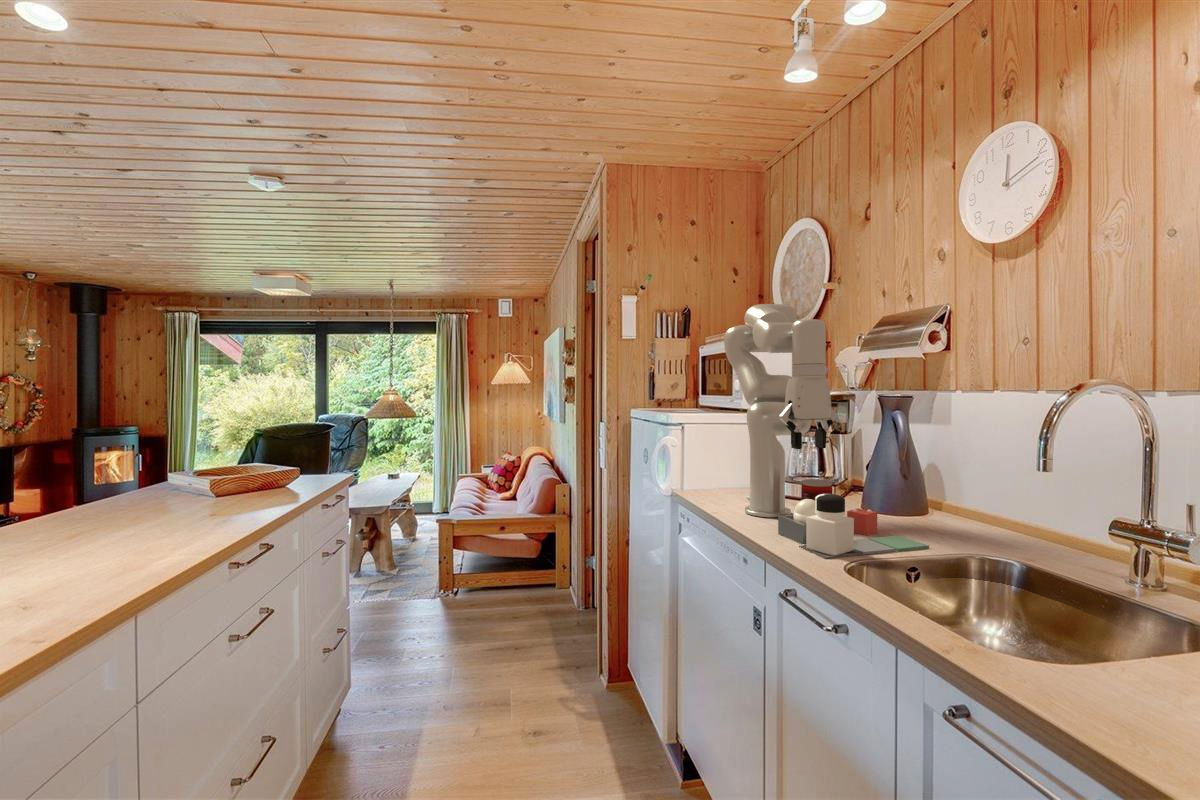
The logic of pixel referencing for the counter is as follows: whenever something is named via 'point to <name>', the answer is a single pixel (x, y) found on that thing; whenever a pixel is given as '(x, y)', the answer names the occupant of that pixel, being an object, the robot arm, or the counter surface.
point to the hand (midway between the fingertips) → (808, 447)
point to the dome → (804, 510)
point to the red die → (863, 521)
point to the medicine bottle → (830, 526)
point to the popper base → (792, 529)
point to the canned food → (815, 488)
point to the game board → (878, 546)
